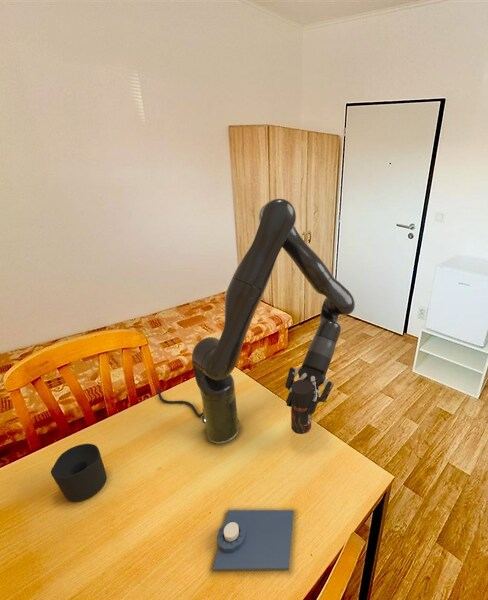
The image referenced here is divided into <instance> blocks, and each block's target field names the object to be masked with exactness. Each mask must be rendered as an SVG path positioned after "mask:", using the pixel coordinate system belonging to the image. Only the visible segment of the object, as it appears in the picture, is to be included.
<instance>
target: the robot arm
mask: <svg viewBox="0 0 488 600" xmlns="http://www.w3.org/2000/svg"><path fill="white" fill-rule="evenodd" d="M258 222H259V224H258V227H257V230H256V233H255V236H254V238H253V241H252V243H251V245H250V247H249V248H248V250H247V251H246V253H245V254H244V255H243V257H242V259H241V260H240V262H239V264H238V266H237V267H236V269H235V271H234V272H233V275H232V277H231V279H230V281H229V284H228V286H227V289H226V292H225V297H224V322H223V323H224V324H223V329H222V332H221V335H220V337H219V338H217V337H214V336H209V337H205V338H203V339H201V340H199V342H197V343H196V344H195V346H194V348H193V350H192V354H191V363H192V369H193V373H194V374H193V375H194V378H195V379H194V380H195V382H196V385H197V387H198V389H199V391H200V394H201V395H200V397H201V402H202V412H201V413H199V412H198V410H197V409H196V407H195V405H193V404H192V403H191V402H190V401H186V400H167V399H164V398H163V397H162V392H161V388H157V389H156V391H157V395H158V399H159V400H160V401H162V402H163V403H166V404H186V405H188V406H190V407H191V410H193V412H194V414H195V415H196V416H197V417H199V418H201V421H202V423H203V424H204V426H205V431H206V437H207V440H208V441H209V442H210V443H212V444H214V445H225V444H227V443H229V442H232V441H233V440H234V439H235V438H236V437H237V436H238V434H239V433H240V425H239V423H240V421H239V417H238V416H239V415H238V407H237V396H236V388H235V387H236V386H235V380H234V379H235V378H234V377H233V376H232V373H233V371H234V369H236V366H237V364H238V362H239V357H240V355H241V352H242V349H243V345H244V343H245V340H246V336H247V334H248V331H249V328H250V326H251V323H252V321H253V318H254V316H255V313H256V311H257V309H258V307H259V304H260V302H261V301H262V298H263V296H264V293H265V291H266V289H267V287H268V283H269V281H270V279H271V276H272V273H273V270H274V268H275V264H276V261H277V258H278V256H279V255H280V252H281V250H282V249H283V250H284V251H285V252H286V254H287V255H288V256H289V257H290V259H291V260H292V261H293V262H294V264H295V265H296V267H297V268H298V269H299V270H300V273H301V274H302V275H303V276H304V278H305V279H306V280H307V282H308V283H309V285H310V286H311V287H312V288H313V290H314V291H315V293H317V294H319V295H322V296H324V297H325V298H324V300H323V302H322V305H321V310H320V317H319V324H318V326H317V328H316V331H315V334H314V336H313V337H312V340H311V341H310V343H309V346H308V347H307V351H306V354H305V356H304V359H303V361H302V365H301V367H300V368H299V369H298V368H294V367H290V368H289V369H288V373H287V374H288V375H287V377H286V381H285V384H284V387H285V388H286V389H287V390H288V391H289V392H288V395H287V398H286V400H285V404H286V406H287V407H290V408H291V386H292V384H293V383H294V382H295V378H296V377H297V376H298V379H297V380H302V379H303V380H308V381H310V382H311V383H312V384H313V396H312V397H313V401H311V403H310V406H309V409H308V411H307V414H308V415H311V414H312V415H313V414H315V412H316V409H317V406H318V404H319V403H325V402H326V401H327V399H328V397H329V395H330V393H331V391H332V389H333V387H334V386H335V385H334V382H332V381H330V380H328V379H326V375H327V373H328V371H329V367H330V365H331V362H332V360H333V357H334V354H335V351H336V346H337V344H338V340H339V338H340V335H341V331H342V326H341V324H340V323H339V322H338V321H339V317H340V316H349V315H350V314H352V313H353V312H354V311H355V307H356V301H355V299H354V296H353V294H352V293H351V292H350V291H349V289H347V288H346V287H345V286H344V285H343V284H342V283H341V282H340V281H338V280H337V279H336V278H335V277H334V275H333V273H332V272H331V271H330V269H329V268H328V266H327V265H326V264H325V263H324V261H323V260H322V258H321V257H320V256H318V254H317V253H316V252H315V251H314V250H313V249H312V248H311V247H310V246H309V245H308V243H307V242H305V240H304V239H303V238H302V236H301V235H300V233H299V232H298V230H297V229H296V226H295V225H296V222H297V212H296V209H295V207H294V205H293V204H292V203H291V202H290V201H288V200H287V199H284V198H274V199H271V200H269V201H267V202H266V203H265V204H264V205H263V206H262V207H261V208H260V210H259V213H258ZM322 385H323V387H324V389H323V391H322V392H321V394H320V386H322Z"/></svg>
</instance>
